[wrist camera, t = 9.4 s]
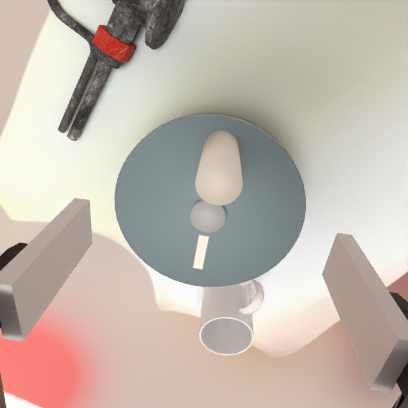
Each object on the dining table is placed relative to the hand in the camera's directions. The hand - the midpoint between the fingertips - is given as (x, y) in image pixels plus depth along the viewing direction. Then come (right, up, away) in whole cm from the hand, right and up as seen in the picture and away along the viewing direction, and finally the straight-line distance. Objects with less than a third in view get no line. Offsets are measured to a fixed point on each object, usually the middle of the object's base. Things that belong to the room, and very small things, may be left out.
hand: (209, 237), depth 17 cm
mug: (+5, -11, +37) cm, 39 cm away
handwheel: (0, +1, +21) cm, 21 cm away
